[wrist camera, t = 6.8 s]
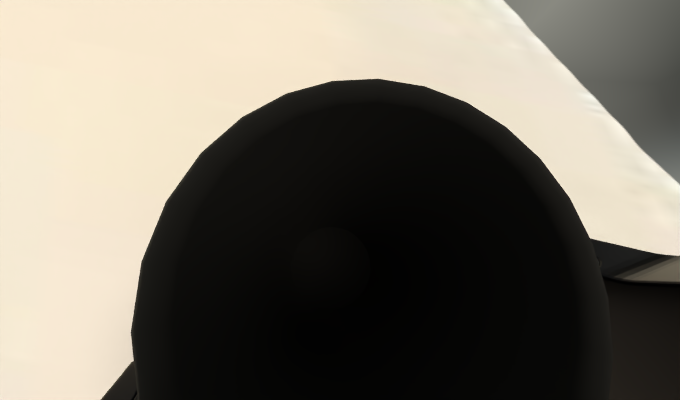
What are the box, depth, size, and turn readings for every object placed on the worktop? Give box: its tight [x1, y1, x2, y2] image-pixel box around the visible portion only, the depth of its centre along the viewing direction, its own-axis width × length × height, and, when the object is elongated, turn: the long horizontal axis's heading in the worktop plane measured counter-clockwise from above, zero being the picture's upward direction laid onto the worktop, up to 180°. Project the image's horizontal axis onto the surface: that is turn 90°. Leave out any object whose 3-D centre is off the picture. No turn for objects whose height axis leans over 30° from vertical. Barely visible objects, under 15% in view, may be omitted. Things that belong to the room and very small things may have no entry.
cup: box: [131, 79, 613, 400], centre depth 10 cm, size 8×8×12 cm
